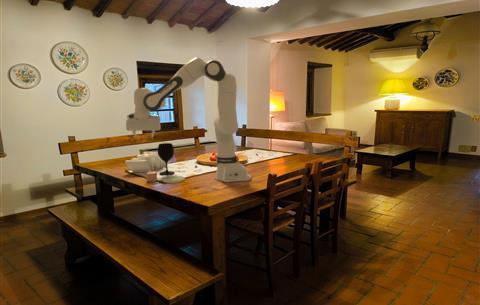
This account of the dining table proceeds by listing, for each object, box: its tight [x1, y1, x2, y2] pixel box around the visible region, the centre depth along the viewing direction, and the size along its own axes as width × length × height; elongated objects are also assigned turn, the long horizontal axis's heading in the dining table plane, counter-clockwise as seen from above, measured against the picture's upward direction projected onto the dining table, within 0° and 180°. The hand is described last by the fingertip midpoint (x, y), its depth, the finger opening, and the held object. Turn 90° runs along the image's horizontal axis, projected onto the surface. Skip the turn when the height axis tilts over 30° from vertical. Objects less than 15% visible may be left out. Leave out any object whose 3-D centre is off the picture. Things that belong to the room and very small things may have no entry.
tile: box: [161, 175, 185, 184], centre depth 192 cm, size 14×14×1 cm
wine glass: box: [157, 142, 176, 176], centre depth 206 cm, size 10×10×20 cm
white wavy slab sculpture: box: [124, 151, 166, 174], centre depth 222 cm, size 35×16×11 cm, turn 161°
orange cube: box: [146, 171, 158, 182], centre depth 191 cm, size 5×5×5 cm
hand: (144, 137), depth 190 cm, fingers open, 8 cm apart
